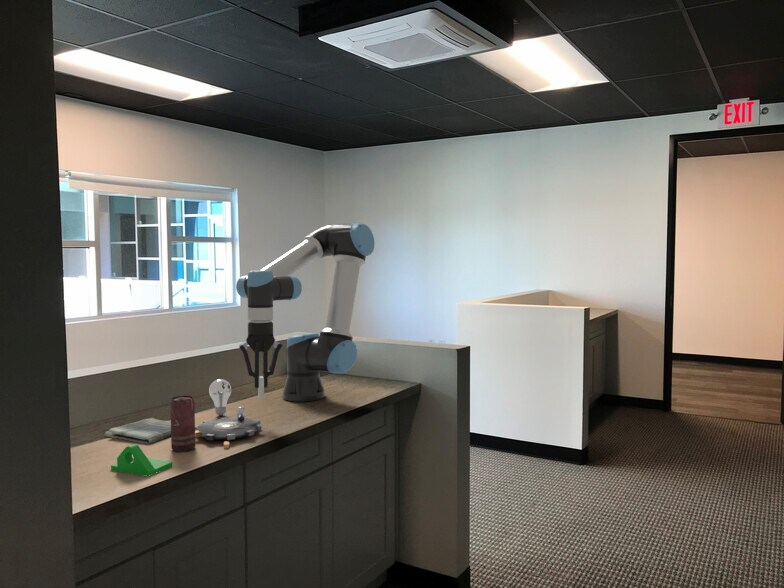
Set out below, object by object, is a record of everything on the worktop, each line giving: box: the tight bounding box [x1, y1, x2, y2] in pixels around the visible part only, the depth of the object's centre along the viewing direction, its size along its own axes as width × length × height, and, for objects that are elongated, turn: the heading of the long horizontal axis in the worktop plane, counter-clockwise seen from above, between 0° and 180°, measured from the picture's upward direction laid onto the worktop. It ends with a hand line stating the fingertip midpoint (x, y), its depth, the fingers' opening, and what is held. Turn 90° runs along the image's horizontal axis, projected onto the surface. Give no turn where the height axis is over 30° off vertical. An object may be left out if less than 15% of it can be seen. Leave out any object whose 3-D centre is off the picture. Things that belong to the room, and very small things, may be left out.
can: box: [169, 395, 196, 453], centre depth 166 cm, size 6×6×14 cm
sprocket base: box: [212, 436, 246, 442], centre depth 180 cm, size 12×12×1 cm
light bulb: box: [208, 378, 232, 417], centre depth 200 cm, size 7×7×12 cm
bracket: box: [110, 443, 173, 477], centre depth 152 cm, size 12×8×7 cm, turn 67°
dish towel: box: [104, 417, 171, 445], centre depth 182 cm, size 19×18×3 cm
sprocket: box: [195, 406, 263, 441], centre depth 179 cm, size 19×20×5 cm
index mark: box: [223, 440, 230, 449], centre depth 168 cm, size 3×1×1 cm, turn 13°
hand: (261, 398), depth 189 cm, fingers closed
